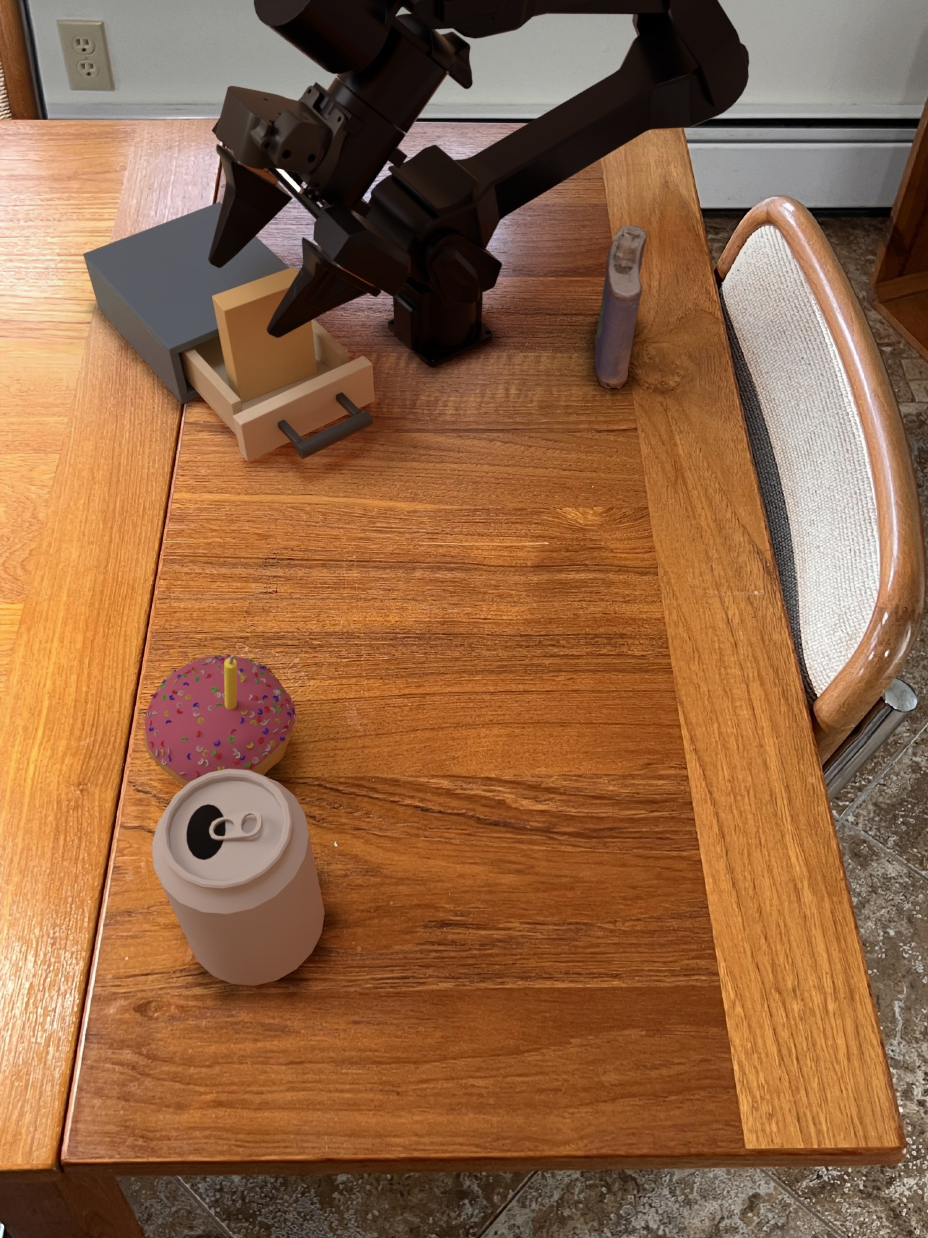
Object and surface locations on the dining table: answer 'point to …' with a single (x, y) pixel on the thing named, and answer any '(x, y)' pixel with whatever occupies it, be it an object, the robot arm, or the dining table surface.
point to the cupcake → (218, 718)
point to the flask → (619, 306)
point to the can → (240, 875)
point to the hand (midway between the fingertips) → (241, 298)
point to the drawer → (287, 398)
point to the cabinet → (171, 288)
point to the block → (261, 338)
